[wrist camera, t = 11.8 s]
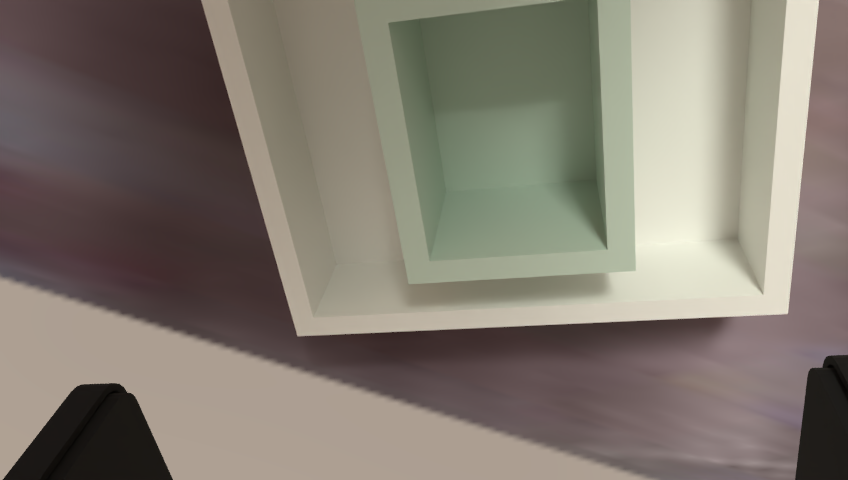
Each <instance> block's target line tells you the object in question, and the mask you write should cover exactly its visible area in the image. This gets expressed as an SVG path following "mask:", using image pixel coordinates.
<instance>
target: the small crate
mask: <svg viewBox="0 0 848 480" xmlns="http://www.w3.org/2000/svg"><path fill="white" fill-rule="evenodd" d="M354 4H355V9H356V14H357V19H358V25H359V30H360V35H361V40H362V45H363V50H364V56H365V61H366V66H367V71H368V76H369V82H370V87H371V92H372V97H373V102H374V107H375V113H376V118H377V123H378V128H379V133H380V139H381V144H382V149H383V154H384V159H385V164H386V170H387V175H388V180H389V185H390V190H391V196H392V201H393V206H394V211H395V216H396V221H397V227H398V232H399V237H400V242H401V247H402V252H403V258H404V263H405V268H406V273H407V278H408V284H423V283H440V282H457V281H474V280H491V279H508V278H525V277H542V276H559V275H576V274H593V273H609V272H626V271H636V256H635V207H634V158H633V109H632V59H631V10H630V0H354Z"/></svg>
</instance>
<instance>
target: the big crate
mask: <svg viewBox="0 0 848 480" xmlns="http://www.w3.org/2000/svg"><path fill="white" fill-rule="evenodd" d="M201 1H202V5H203V8H204V12H205V15H206V19H207V22H208V26H209V29H210V33H211V36H212V40H213V43H214V47H215V50H216V54H217V57H218V61H219V64H220V68H221V71H222V75H223V78H224V82H225V85H226V89H227V92H228V95H229V99H230V102H231V106H232V109H233V113H234V116H235V120H236V123H237V127H238V130H239V134H240V137H241V141H242V144H243V148H244V151H245V155H246V158H247V162H248V165H249V169H250V172H251V176H252V179H253V183H254V186H255V190H256V193H257V197H258V200H259V204H260V207H261V211H262V214H263V217H264V221H265V224H266V228H267V231H268V235H269V238H270V242H271V245H272V249H273V252H274V256H275V259H276V263H277V266H278V270H279V273H280V277H281V280H282V284H283V287H284V291H285V294H286V298H287V301H288V305H289V308H290V312H291V315H292V319H293V322H294V326H295V329H296V333H297V336H316V335H338V334H359V333H381V332H403V331H425V330H447V329H469V328H490V327H512V326H534V325H556V324H578V323H600V322H621V321H643V320H665V319H687V318H709V317H731V316H752V315H774V314H788V307H789V297H790V287H791V277H792V267H793V256H794V246H795V236H796V226H797V216H798V206H799V196H800V186H801V176H802V166H803V156H804V146H805V135H806V125H807V115H808V105H809V95H810V85H811V75H812V65H813V55H814V45H815V35H816V25H817V14H818V4H819V0H630V10H631V59H632V109H633V158H634V207H635V256H636V271H626V272H609V273H593V274H576V275H559V276H542V277H525V278H508V279H491V280H474V281H457V282H440V283H423V284H408V278H407V273H406V268H405V263H404V258H403V252H402V247H401V242H400V237H399V232H398V227H397V221H396V216H395V211H394V206H393V201H392V196H391V190H390V185H389V180H388V175H387V170H386V164H385V159H384V154H383V149H382V144H381V139H380V133H379V128H378V123H377V118H376V113H375V107H374V102H373V97H372V92H371V87H370V82H369V76H368V71H367V66H366V61H365V56H364V50H363V45H362V40H361V35H360V30H359V25H358V19H357V14H356V9H355V4H354V0H201Z"/></svg>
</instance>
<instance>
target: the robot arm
mask: <svg viewBox="0 0 848 480" xmlns="http://www.w3.org/2000/svg"><path fill="white" fill-rule="evenodd" d="M3 480H173V479H172V477H171V475H170V472H169V470H168V468H167V466H166V464H165V462H164V459H163V457H162V455H161V453H160V450H159V448H158V446H157V444H156V441H155V439H154V437H153V435H152V433H151V431H150V428H149V426H148V424H147V422H146V419H145V417H144V415H143V413H142V411H141V408H140V406H139V404H138V402H137V400H136V398H135V396H134V395H133V394H131V393H127V392H126V390H125V388H124V387H122V386H121V385H120V384H115V383H110V384H84V385H80V386H77V387H76V388H75V389H74V390H73V391H72V392H71V393H70V394H69V395H68V397H67V398H66V399H65V401H64V402H63V403H62V404H61V406H60V407H59V408H58V410H57V411H56V412H55V413H54V415H53V416H52V417H51V419H50V420H49V421H48V422H47V424H46V425H45V426H44V427H43V429H42V430H41V431H40V433H39V434H38V435H37V436H36V438H35V439H34V440H33V442H32V443H31V444H30V445H29V447H28V448H27V449H26V451H25V452H24V453H23V454H22V456H21V457H20V458H19V460H18V461H17V462H16V464H15V465H14V466H13V467H12V469H11V470H10V471H9V472H8V474H7V475H6V476H5V478H4V479H3ZM795 480H848V355H837V356H828V357H826V359H825V360H824V363H823V368H812V369H810V371H809V373H808V378H807V386H806V395H805V403H804V411H803V420H802V428H801V436H800V445H799V453H798V461H797V470H796V478H795Z"/></svg>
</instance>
